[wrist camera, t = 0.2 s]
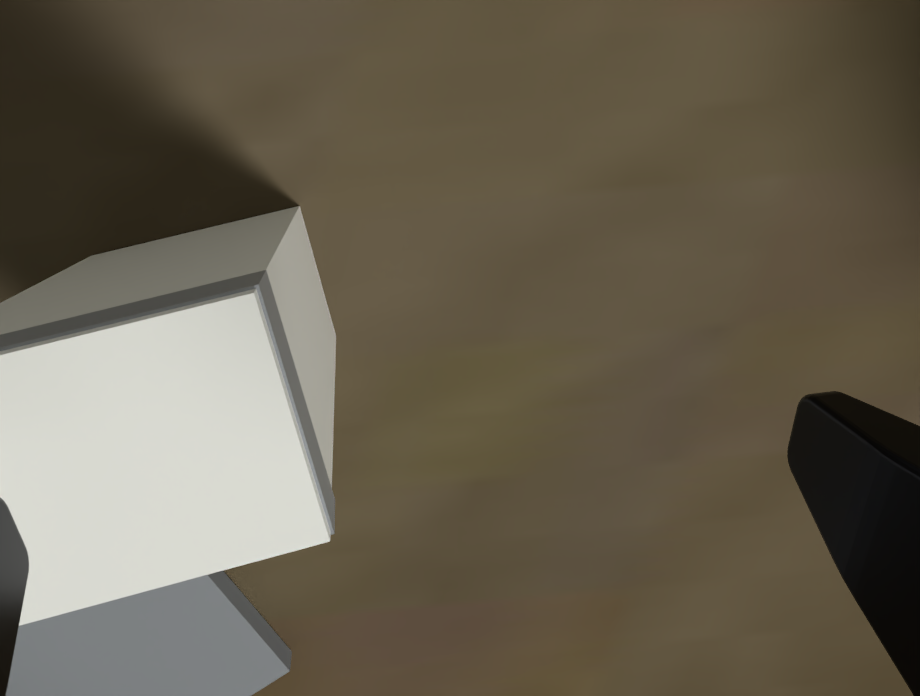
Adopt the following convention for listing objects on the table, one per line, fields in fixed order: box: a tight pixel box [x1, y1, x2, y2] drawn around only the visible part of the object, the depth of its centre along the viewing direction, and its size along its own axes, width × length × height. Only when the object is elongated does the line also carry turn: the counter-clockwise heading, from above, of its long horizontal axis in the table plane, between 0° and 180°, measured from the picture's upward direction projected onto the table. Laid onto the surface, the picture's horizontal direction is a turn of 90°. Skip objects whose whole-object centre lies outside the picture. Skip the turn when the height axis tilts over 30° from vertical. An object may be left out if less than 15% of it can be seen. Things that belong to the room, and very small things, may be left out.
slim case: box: [0, 206, 336, 626], centre depth 17 cm, size 6×4×12 cm
